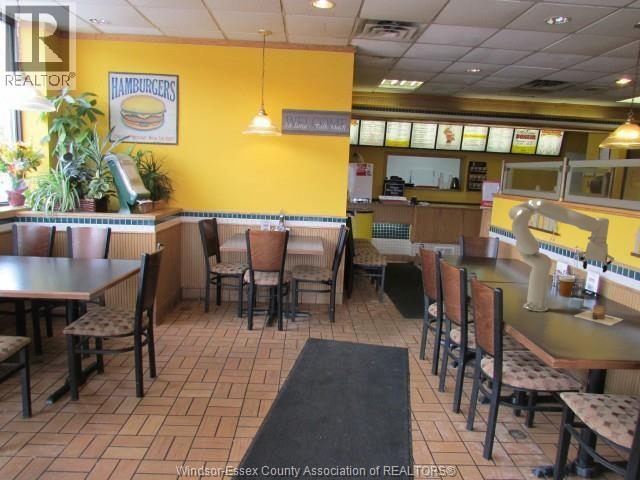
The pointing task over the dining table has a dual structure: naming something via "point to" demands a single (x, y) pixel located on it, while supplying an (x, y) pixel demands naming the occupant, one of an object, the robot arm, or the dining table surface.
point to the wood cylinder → (599, 312)
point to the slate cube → (577, 302)
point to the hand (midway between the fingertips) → (594, 270)
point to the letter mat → (607, 320)
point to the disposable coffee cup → (566, 285)
